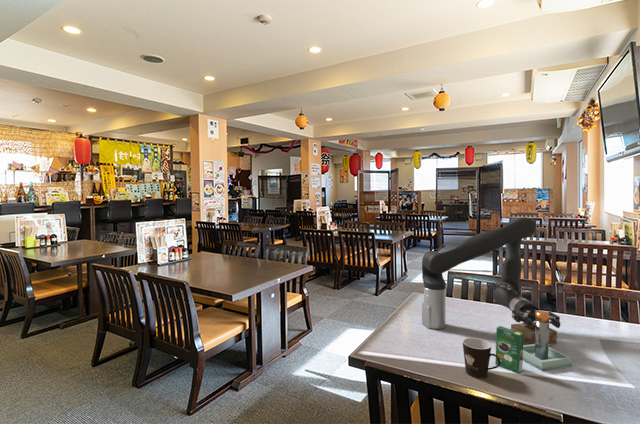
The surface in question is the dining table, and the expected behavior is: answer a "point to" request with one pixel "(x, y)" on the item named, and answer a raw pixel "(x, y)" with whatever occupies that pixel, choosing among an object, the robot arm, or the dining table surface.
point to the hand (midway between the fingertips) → (545, 324)
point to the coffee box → (509, 349)
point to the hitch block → (533, 333)
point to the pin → (542, 335)
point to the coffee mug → (477, 357)
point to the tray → (553, 362)
